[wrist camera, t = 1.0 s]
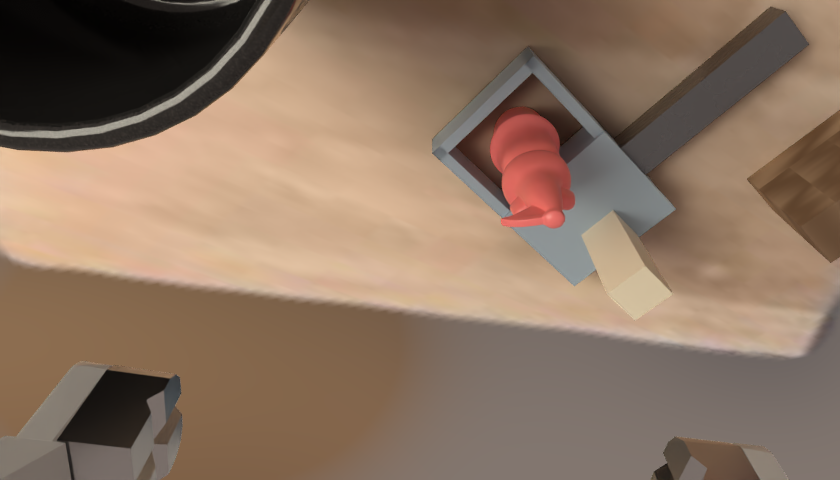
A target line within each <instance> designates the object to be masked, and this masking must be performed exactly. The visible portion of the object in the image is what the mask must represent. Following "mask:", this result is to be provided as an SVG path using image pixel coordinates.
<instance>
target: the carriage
mask: <svg viewBox="0 0 840 480" xmlns="http://www.w3.org/2000/svg"><path fill="white" fill-rule="evenodd" d="M532 73H533V74H534V75H535V76H536V77H537V78H538V79H539V80H540V81H541V82H542V83H543V84H544V85H545V86H546V87H547V88H548V90H549V91H550V92H551V93H552V94H553V95H554V96H555V97H556V98H557V99H558V100H559V101H560V102H561V103H562V104H563V105H564V107H565V108H566V109H567V110H568V111H569V112H570V113H571V114H572V115H573V116H574V117H575V118H576V119H577V120H578V121H579V122H580V124H581V125H582V126H583V127H582V128H581V129H580V130H579V131H578V132H577V133H576V134H574V135H573V136H572V137H571V138H570V139H569V140H568V141H566V142H565V143H564V144H563V145H562V146H561V147H560V149H559V155H560V156H561V157H562V158H563V160H564V161H565V162H566V164H567V166H568V168H569V171H570V174H571V187H570V190H571V191H572V192H573V193H574V195H575V205H574V207H573V208H572V209H570V210H563V211H562V212H563V213H564V214H565V222H564V224H563V225H562V226H561V227H559V228H549V227H547V226H545V225H536V226H528V227H511V228H512V229H513V230H514V231H515V232H516V233H517V234H518V235H520V236H521V237H522V238H523V239H524V240H525V241H526V242H527V243H528V244H529V245H530V246H531V247H533V248H534V249H535V250H536V251H537V252H538V253H539V254H540V255H541V256H542V257H543V258H544V259H546V260H547V261H548V262H549V263H550V264H551V265H552V266H553V267H554V268H555V269H556V270H557V271H558V272H560V273H561V274H562V275H563V276H564V277H565V278H566V279H567V280H568V281H569V282H570V283H571V284H573V285H574V286H575V285H577V284H578V283H579V282H581V281H582V280H583V279H585V278H586V277H587V276H589V275H590V274H591V273H592V272H594V271H595V270H597V273H598V275H599V277H600V280H601V282H602V284H603V287H604V289H605V291H606V293H607V295H608V296H609V297H610V298H611V299H612V300H614V301H615V302H616V303H617V304H618V305H619V306H620V307H621V308H622V309H623V310H624V311H625V312H626V313H627V314H628V315H629V316H630V317H632V318H633V319H634V320H637V319H638V318H640V317H641V316H643V315H644V314H645V313H647V312H648V311H650V310H651V309H653V308H654V307H655V306H657V305H658V304H660V303H661V302H663V301H664V300H665V299H667V298H668V297H670V296H671V295H673V293H672V291H671V290H670V288H669V286H668V285H667V283H666V281H665V280H664V278H663V276H662V275H661V273H660V271H659V270H658V268H657V266H656V265H655V263H654V261H653V260H652V258H651V256H650V255H649V253H648V252H647V250H646V248H645V247H644V245H643V243H642V242H641V240H640V238H639V237H640V236H641V235H643V234H644V233H645V232H647V231H648V230H649V229H651V228H652V227H653V226H654V225H656V224H657V223H658V222H660V221H661V220H662V219H664V218H665V217H666V216H668V215H669V214H670V213H672V212H673V211H674V210H676V208H675V207H674V206H673V204H672V203H671V202H670V201H669V200H668V199H667V198H666V197H665V195H664V194H663V193H662V192H661V191H660V190H659V189H658V188H657V187H656V186H655V184H654V183H653V182H652V180H651V179H650V178H649V177H648V175H647V174H646V175H645V174H644V173H643V172H642V171H641V170H640V169H639V167H638V166H637V165H636V164H635V163H634V162H633V161H632V160H631V159H630V158H629V157H628V156H627V154H626V153H625V152H624V151H623V150H622V149H621V148H620V147H619V146H618V144H617V143H616V142H615V140H614V139H613V138H612V137H611V135H610V134H609V133H608V132H607V131H606V130H604V129H603V127H602V126H601V125H600V123H599V122H598V121H597V120H596V119H595V118H594V117H593V116H592V115H591V114H590V113H589V112H588V111H587V109H586V108H585V107H584V106H583V105H582V104H581V103H580V102H579V101H578V100H577V99H576V98H575V96H574V95H573V94H572V93H571V92H570V91H569V90H568V89H567V88H566V87H565V86H564V85H563V83H562V82H561V81H560V80H559V79H558V78H557V77H556V76H555V75H554V74H553V73H552V72H551V71H550V69H549V68H548V67H547V66H546V65H545V64H544V63H543V62H542V61H541V60H540V59H539V58H538V56H537V55H536V54H535V53H534V52H533V51H532V50H531V49H530V48H529V47H528V46H527V47H526V48H525V49H524V50H523V51H522V52H521V53H520V54H519V55H518V56H517V57H516V58H515V59H514V60H513V61H512V62H511V63H510V64H509V65H508V66H507V67H506V68H505V69H504V70H503V71H502V72H501V73H500V74H499V75H498V76H497V77H496V78H495V79H494V80H493V81H492V82H491V83H490V84H488V85H487V86H486V87H485V88H484V89H483V90H482V91H481V92H480V93H479V94H478V95H477V96H476V97H475V98H474V99H473V100H472V101H471V102H470V103H469V104H468V105H467V106H466V107H465V108H464V109H463V110H462V111H461V112H460V113H459V114H458V115H457V116H456V117H455V118H454V119H453V120H452V121H450V122H449V123H448V124H447V125H446V126H445V127H444V128H443V129H442V130H441V131H440V132H439V133H438V134H437V135H436V136H435V137H434V138H433V139H432V154H434V155H435V156H436V157H437V158H438V159H439V160H440V161H441V162H442V163H443V164H444V165H445V166H447V167H448V168H449V169H450V170H451V171H452V172H453V173H454V174H455V175H456V176H457V177H458V178H459V179H461V180H462V181H463V182H464V183H465V184H466V185H467V186H468V187H469V188H470V189H471V190H472V191H474V192H475V193H476V194H477V195H478V196H479V197H480V198H481V199H482V200H483V201H484V202H485V203H486V204H488V205H489V206H490V207H491V208H492V209H493V210H494V211H495V212H496V213H497V214H498V215H499V216H501V217H502V218H504V217H508V216H511V215H513V214H512V212H511V210H510V204H509V203H508V202H507V200H506V198H505V196H504V194H503V191H502V190H501V189H500V188H499V187H498V186H496V185H495V184H494V183H493V182H492V181H491V180H490V179H489V178H488V177H487V176H486V175H485V174H484V173H483V172H482V171H481V170H480V169H479V168H477V167H476V166H475V165H474V164H473V163H472V162H471V161H470V160H469V159H468V158H467V157H466V156H465V155H464V154H463V153H462V152H461V151H460V150H458V149H457V148H456V147H455V146H456V145H457V144H458V143H459V142H460V141H461V140H462V139H463V138H464V137H465V136H467V135H468V134H469V133H470V132H471V131H472V130H473V129H474V128H475V127H476V126H477V125H478V124H479V123H480V122H481V121H482V120H483V119H484V118H485V117H487V116H488V115H489V114H490V113H491V112H492V111H493V110H494V109H495V108H496V107H497V106H498V105H499V104H500V103H501V102H502V101H503V100H504V99H505V98H507V97H508V96H509V95H510V94H511V93H512V92H513V91H514V90H515V89H516V88H517V87H518V86H519V85H520V84H521V83H522V82H523V81H524V80H525V79H527V78H528V77H529V76H530V75H531V74H532Z"/></svg>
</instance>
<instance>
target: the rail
mask: <svg viewBox="0 0 840 480" xmlns="http://www.w3.org/2000/svg"><path fill="white" fill-rule="evenodd" d="M808 45H809V43H808V42H807V41H806V39H805V38H804V36H803V35H802V34H801V32H800V31H799V29H798V28H797V27H796V25H795V24H794V23H793V21H792V20H791V18H790V17H789V16H788V14H787V13H786V11H783V10H780V9H777V8H773V7H770V8H769V9H767V10H766V11H765V12H764V13H763V14H761V15H760V16H759V17H758V18H757V19H756V20H754V21H753V22H752V23H751V24H750V25H748V26H747V27H746V28H745V29H744V30H743V31H741V32H740V33H739V34H738V35H737V36H735V37H734V38H733V39H732V40H731V41H730V42H728V43H727V44H726V45H725V46H724V47H722V48H721V49H720V50H719V51H718V52H716V53H715V54H714V55H713V56H712V57H711V58H709V59H708V60H707V61H706V62H705V63H703V64H702V65H701V66H700V67H699V68H698V69H696V70H695V71H694V72H693V73H692V74H690V75H689V76H688V77H687V78H686V79H684V80H683V81H682V82H681V83H680V84H679V85H677V86H676V87H675V88H674V89H673V90H671V91H670V92H669V93H668V94H667V95H666V96H664V97H663V98H662V99H661V100H660V101H658V102H657V103H656V104H655V105H654V106H653V107H651V108H650V109H649V110H648V111H647V112H645V113H644V114H643V115H642V116H641V117H639V118H638V119H637V120H636V121H635V122H634V123H632V124H631V125H630V126H629V127H628V128H626V129H625V130H624V131H623V132H622V133H621V134H619V135H618V136H617V137H616V138H615V139H614V140H615V142H616V143H617V144H618V146H619V147H620V148H621V149H622V150H623V151H624V152H625V153H626V154H627V156H628V157H629V158H630V159H631V160H632V161H633V162H634V163H635V164H636V165H637V166H638V167H639V169H640V170H641V171H642V172H643V173H644V174H645V175H646V174H647V173H649V172H650V171H651V170H652V169H654V168H655V167H656V166H657V165H659V164H660V163H661V162H662V161H664V160H665V159H666V158H667V157H669V156H670V155H671V154H672V153H674V152H675V151H676V150H677V149H679V148H680V147H681V146H682V145H684V144H685V143H686V142H687V141H689V140H690V139H691V138H693V137H694V136H695V135H696V134H698V133H699V132H700V131H701V130H703V129H704V128H705V127H706V126H708V125H709V124H710V123H711V122H713V121H714V120H715V119H716V118H718V117H719V116H720V115H721V114H723V113H724V112H725V111H726V110H728V109H729V108H730V107H731V106H733V105H734V104H735V103H736V102H738V101H739V100H740V99H741V98H743V97H744V96H745V95H746V94H748V93H749V92H750V91H751V90H753V89H754V88H755V87H756V86H758V85H759V84H760V83H761V82H763V81H764V80H765V79H766V78H768V77H769V76H770V75H771V74H773V73H774V72H775V71H776V70H778V69H779V68H780V67H781V66H783V65H784V64H785V63H786V62H788V61H789V60H790V59H791V58H793V57H794V56H795V55H796V54H798V53H799V52H800V51H801V50H803V49H804V48H805V47H806V46H808Z"/></svg>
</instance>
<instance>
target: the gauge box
mask: <svg viewBox="0 0 840 480" xmlns="http://www.w3.org/2000/svg"><path fill="white" fill-rule="evenodd" d="M747 180H748V181H749V182H750V183H751V184H752V186H753V187H754V188H755V189H756V190H757V191H758V193H759V194H760V195H761V196H762V197H763V199H764V200H765V201H766V202H767V203H768V204H769V206H770V207H771V208H772V209H773V210H774V211H775V212H776V213H777V214H778V215H779V216H780V217H781V218H782V219H783V220H784V221H785V222H787V223H788V224H789V225H790V226H791V227H792V228H793V229H794V230H795V231H796V232H797V233H799V234H800V235H801V236H802V237H803V238H804V239H805V240H806V241H807V242H808V243H810V244H811V245H812V246H813V247H814V248H815V249H816V250H817V251H818V252H819V253H820V254H822V255H823V256H824V257H825V258H826V259H827V260H828V261H829V262H830V263H831V262H833V261H834V260H836V259H837V258H839V257H840V110H839V111H838V112H837V113H835V114H834V115H833V116H831V117H830V118H829V119H827V120H826V121H825V122H823V123H822V124H820V125H819V126H818V127H816V128H815V129H814V130H812V131H811V132H810V133H808V134H807V135H806V136H804V137H803V138H802V139H800V140H799V141H798V142H796V143H795V144H794V145H792V146H791V147H789V148H788V149H787V150H785V151H784V152H783V153H781V154H780V155H779V156H777V157H776V158H775V159H773V160H772V161H771V162H769V163H768V164H767V165H765V166H764V167H763V168H761V169H760V170H758V171H757V172H756V173H754V174H753V175H752V176H750V177H749V178H748V179H747Z"/></svg>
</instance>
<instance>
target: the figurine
mask: <svg viewBox="0 0 840 480" xmlns="http://www.w3.org/2000/svg"><path fill="white" fill-rule="evenodd" d="M559 149H560V141H559V136H558V133H557V131H556V129H555V128H554V126H553V125H552V124H551V123H550V122H549V121H548V120H546V119H545V118H543V117H541V116H540V115H539V114H538V113H537V112H536V111H534V110H533V109H530V108H527V107H514V108H511V109H509V110H507V111H505V112H504V113H503V114H502V115H501V116H500V117H499V118H498V120H497V121H496V124H495V126H494V135H493V137H492V140H491V144H490V155H491V159H492V161H493V163H494V165H495V167H496V168H497V169H498V170H499V171H500V172H501V173H502V174H503V176H502V190H503V194H504V196H505V198H506V200H507V202H508V203H509V204H510V210H511V212H512V214H513V215H511V216H508V217H504V218H502V219H501V224H502V225H503V226H508V227H528V226H536V225H545V226H547V227H549V228H559V227H561V226H562V225H563V224H564V222H565V214H564V213H563V212H562V211H563V210H570V209H572V208H573V207H574V205H575V195H574V193H573V192H572V191H571V190H570V187H571V174H570V171H569V168H568V166H567V164H566V162H565V161H564V160H563V158H562V157H561V156H560V155H559Z"/></svg>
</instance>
